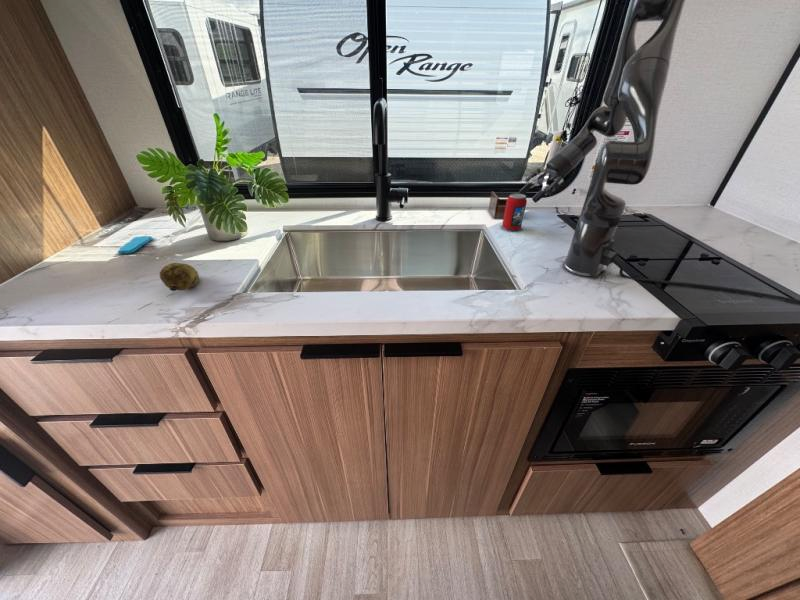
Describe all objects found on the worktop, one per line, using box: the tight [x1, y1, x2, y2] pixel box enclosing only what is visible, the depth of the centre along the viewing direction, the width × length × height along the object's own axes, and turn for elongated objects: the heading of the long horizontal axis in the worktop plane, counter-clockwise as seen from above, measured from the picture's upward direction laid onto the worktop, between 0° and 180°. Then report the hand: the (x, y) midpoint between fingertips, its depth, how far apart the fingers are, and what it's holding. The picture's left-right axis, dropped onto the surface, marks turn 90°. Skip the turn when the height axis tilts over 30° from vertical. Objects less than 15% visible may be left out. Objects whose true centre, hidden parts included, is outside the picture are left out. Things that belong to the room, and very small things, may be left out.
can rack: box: [488, 191, 508, 220], centre depth 129 cm, size 10×10×8 cm
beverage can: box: [501, 192, 528, 232], centre depth 116 cm, size 7×7×12 cm
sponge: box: [117, 235, 153, 255], centre depth 105 cm, size 2×12×6 cm
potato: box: [159, 262, 200, 292], centre depth 82 cm, size 8×13×8 cm, turn 6°
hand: (526, 197), depth 114 cm, fingers open, 8 cm apart
